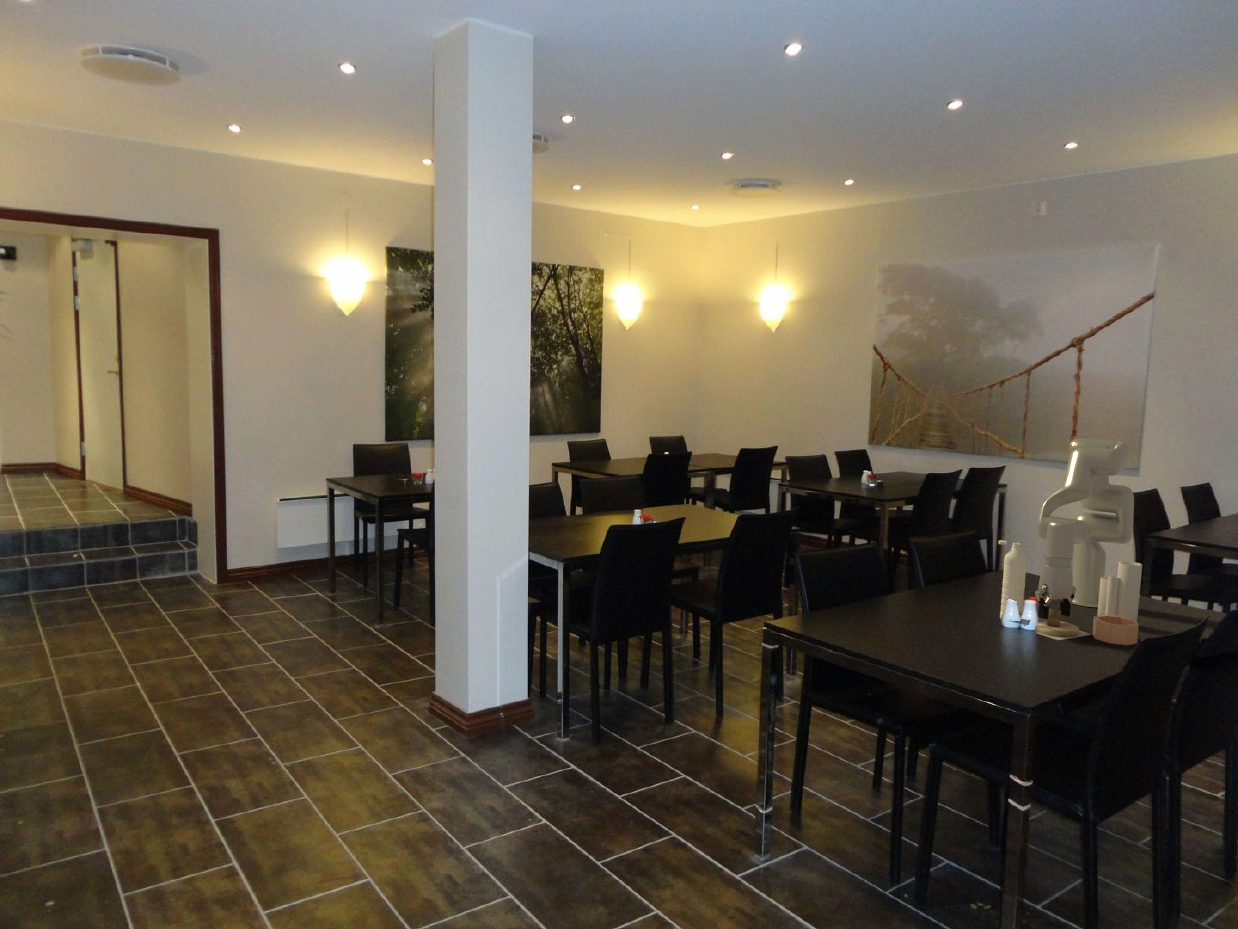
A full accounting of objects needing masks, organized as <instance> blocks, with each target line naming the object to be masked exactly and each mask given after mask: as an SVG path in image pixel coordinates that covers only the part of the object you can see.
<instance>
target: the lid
mask: <svg viewBox="0 0 1238 929" xmlns="http://www.w3.org/2000/svg"><path fill="white" fill-rule="evenodd" d="M1061 618H1062V615H1061V610H1060V608H1056V607H1049V617H1048V619H1047V620H1046V619H1043V618H1038V619H1039V621H1038V624H1037V626H1036V627H1035V632H1037V633H1040V634H1044V635H1049V636H1056V637H1075V636H1078V635H1079V631H1080V627H1078V626H1077V625H1076V624H1073V623H1069V622H1065V621H1063V620H1062V619H1061ZM1037 633H1036V634H1037ZM1040 634H1039V635H1040ZM1044 635H1043V636H1044ZM1075 638H1076V637H1075Z"/></svg>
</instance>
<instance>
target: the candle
mask: <svg viewBox="0 0 1238 929" xmlns="http://www.w3.org/2000/svg"><path fill="white" fill-rule="evenodd" d="M1142 570H1143V564H1142V563H1140V562H1134V561H1129V560H1121V561H1118V566H1117V576H1115V575H1108V576H1104V577H1101V579H1100V591H1099V602H1098V607H1097V614H1096V616H1099V615H1111V616H1120V617H1124V618H1128V619H1132V620H1135V621H1136V622H1137V623H1138V615H1139V603H1140V595H1141V593H1140V592H1141V591H1140V590H1141V581H1142V572H1143V571H1142Z"/></svg>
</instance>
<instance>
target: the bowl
mask: <svg viewBox="0 0 1238 929" xmlns="http://www.w3.org/2000/svg"><path fill="white" fill-rule="evenodd" d="M1139 626H1140V624H1139V623H1138V621H1137V622H1136V621H1135V620H1132V619H1128V618H1124V617H1120V616H1111V615H1099V616H1097V615H1094V616H1093V623H1092V633H1091V634H1092V636H1093V638H1094V640H1098V641H1101V642H1104V643H1107V644H1112V645H1113V644H1114V645H1123V646H1130V645H1135V644H1138V635H1139V628H1140V627H1139Z"/></svg>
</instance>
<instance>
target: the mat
mask: <svg viewBox="0 0 1238 929" xmlns="http://www.w3.org/2000/svg"><path fill="white" fill-rule="evenodd" d="M1035 634H1037V635H1040V636H1045V637H1047V638H1050V639H1053V640H1056V641H1062V640H1069V639H1074V638H1080V637H1086V636H1091V635H1092V633H1088V632H1086V631H1081V630H1079V635H1078V636H1075V637H1056V636H1049V635H1044V634H1040V633H1037V632H1036V633H1035ZM1092 636H1093V635H1092Z"/></svg>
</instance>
